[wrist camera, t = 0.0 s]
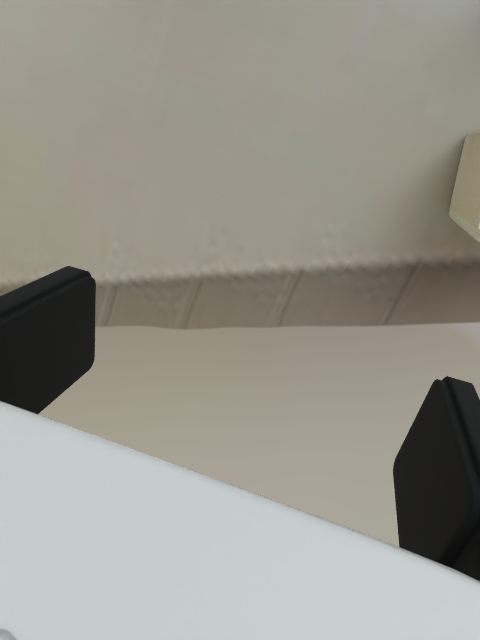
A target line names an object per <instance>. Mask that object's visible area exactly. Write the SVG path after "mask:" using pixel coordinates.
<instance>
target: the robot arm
mask: <svg viewBox="0 0 480 640" xmlns="http://www.w3.org/2000/svg"><path fill="white" fill-rule="evenodd" d="M95 294H96V283H95V280H94V279H93V278H91V274H90V273H89V272H88V271H85V270H81V269H78V268H74V267H71V266H67V267H64V268H62V269H60V270H58V271H55V272H53V273H51V274H49V275H47V276H44V277H42V278H40V279H38V280H36V281H33V282H31V283H29V284H27V285H24V286H22V287H20V288H18V289H16V290H13V291H11V292H9V293H7V294H5V295H2V296H0V640H480V400H479V397H478V395H477V393H476V391H475V388H474V386H473V385H472V383H468V382H465V381H461V380H458V379H455V378H451V377H448V376H447V377H445V378H444V379H443V380H442V381H441V380H438V379H436V380H435V381H434V382H433V384H432V386H431V388H430V390H429V392H428V394H427V396H426V398H425V400H424V402H423V404H422V406H421V408H420V410H419V412H418V414H417V416H416V418H415V420H414V422H413V424H412V426H411V428H410V430H409V432H408V434H407V436H406V438H405V440H404V442H403V444H402V446H401V449H400V450H399V452H398V454H397V456H396V459H395V462H394V467H393V476H394V488H395V500H396V511H397V523H398V534H399V546H400V547H398V546H395V545H393V544H390V543H388V542H385V541H382V540H380V539H377V538H374V537H371V536H369V535H366V534H363V533H361V532H358V531H355V530H353V529H350V528H347V527H345V526H342V525H339V524H336V523H334V522H331V521H328V520H326V519H323V518H320V517H318V516H315V515H312V514H309V513H306V512H304V511H301V510H299V509H296V508H293V507H290V506H288V505H285V504H282V503H280V502H277V501H274V500H271V499H269V498H266V497H263V496H261V495H258V494H255V493H253V492H250V491H247V490H244V489H242V488H238V487H236V486H233V485H231V484H228V483H225V482H222V481H219V480H217V479H214V478H211V477H208V476H206V475H203V474H200V473H197V472H195V471H192V470H189V469H186V468H183V467H181V466H178V465H175V464H173V463H170V462H167V461H164V460H162V459H159V458H156V457H153V456H151V455H148V454H145V453H142V452H140V451H137V450H134V449H131V448H129V447H126V446H123V445H120V444H118V443H115V442H112V441H109V440H107V439H104V438H101V437H99V436H96V435H93V434H90V433H88V432H85V431H82V430H79V429H77V428H74V427H71V426H68V425H66V424H62V423H60V422H57V421H55V420H52V419H49V418H46V417H44V416H41V415H38V414H39V413H40V412H41V411H42V410H43V409H44V408H46V407H47V406H48V405H49V404H50V403H51V402H52V401H53V400H55V399H56V398H57V397H58V396H59V395H60V394H62V393H63V392H64V391H65V390H66V389H67V388H69V387H70V386H71V385H72V384H73V383H74V382H75V381H77V380H78V379H79V378H80V377H81V376H82V375H84V374H85V373H86V372H87V371H88V370H89V369H90V368H91V367H92V365H93V362H94V356H95V355H94V353H95Z"/></svg>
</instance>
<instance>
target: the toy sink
mask: <svg viewBox="0 0 480 640" xmlns="http://www.w3.org/2000/svg"><path fill="white" fill-rule="evenodd" d="M449 217H450V218H451V219H452V220H453V221H455V222H456V223H457V224H458V225H459V226H460V227H461V228H462V229H463V230H465V231H466V232H467V233H468V234H469V235H470V236H472V237H473V238H474V239H475V240H476V241H477V242H479V243H480V133H473V134H467V136H466V138H465V142H464V146H463V150H462V155H461V159H460V164H459V168H458V172H457V177H456V181H455V186H454V190H453V194H452V199H451V204H450V209H449Z"/></svg>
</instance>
